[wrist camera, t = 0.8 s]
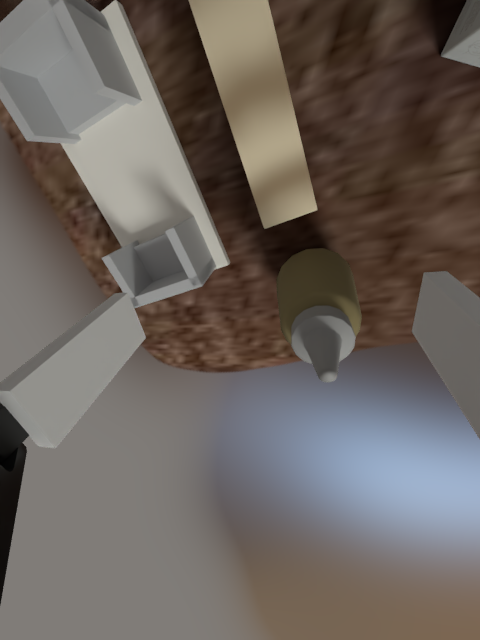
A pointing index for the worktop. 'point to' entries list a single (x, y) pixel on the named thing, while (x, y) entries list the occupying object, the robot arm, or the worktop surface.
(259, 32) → the rail
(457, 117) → the worktop surface
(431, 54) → the worktop surface
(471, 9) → the small box
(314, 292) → the squeeze bottle
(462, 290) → the robot arm
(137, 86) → the bracket board
